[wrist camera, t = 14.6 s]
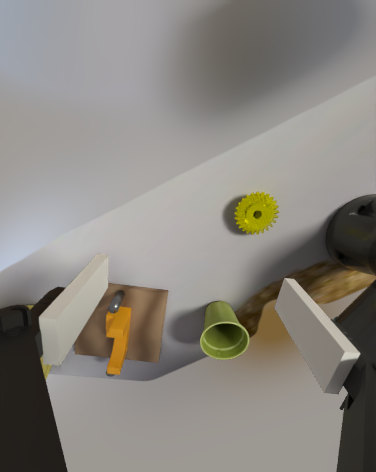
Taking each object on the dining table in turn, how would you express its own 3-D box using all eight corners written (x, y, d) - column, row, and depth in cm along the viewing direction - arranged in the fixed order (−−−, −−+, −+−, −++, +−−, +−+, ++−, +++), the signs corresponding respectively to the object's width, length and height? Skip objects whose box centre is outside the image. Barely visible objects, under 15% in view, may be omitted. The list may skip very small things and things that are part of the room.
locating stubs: (125, 290, 46) (118, 305, 41) (121, 357, 52) (114, 376, 48) (115, 289, 46) (107, 304, 41) (113, 356, 52) (105, 376, 48)
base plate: (168, 290, 47) (167, 293, 46) (158, 358, 54) (158, 362, 53) (75, 278, 46) (72, 282, 45) (77, 349, 53) (75, 353, 52)
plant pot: (225, 333, 52) (232, 366, 43) (190, 318, 50) (191, 349, 42) (247, 304, 49) (259, 334, 41) (211, 287, 47) (216, 314, 39)
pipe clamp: (111, 305, 47) (100, 326, 41) (131, 307, 48) (123, 329, 41) (109, 347, 51) (98, 372, 45) (127, 349, 52) (119, 374, 45)
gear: (225, 201, 41) (241, 237, 44) (228, 205, 38) (246, 243, 40) (264, 182, 40) (279, 219, 42) (272, 184, 36) (287, 224, 39)
